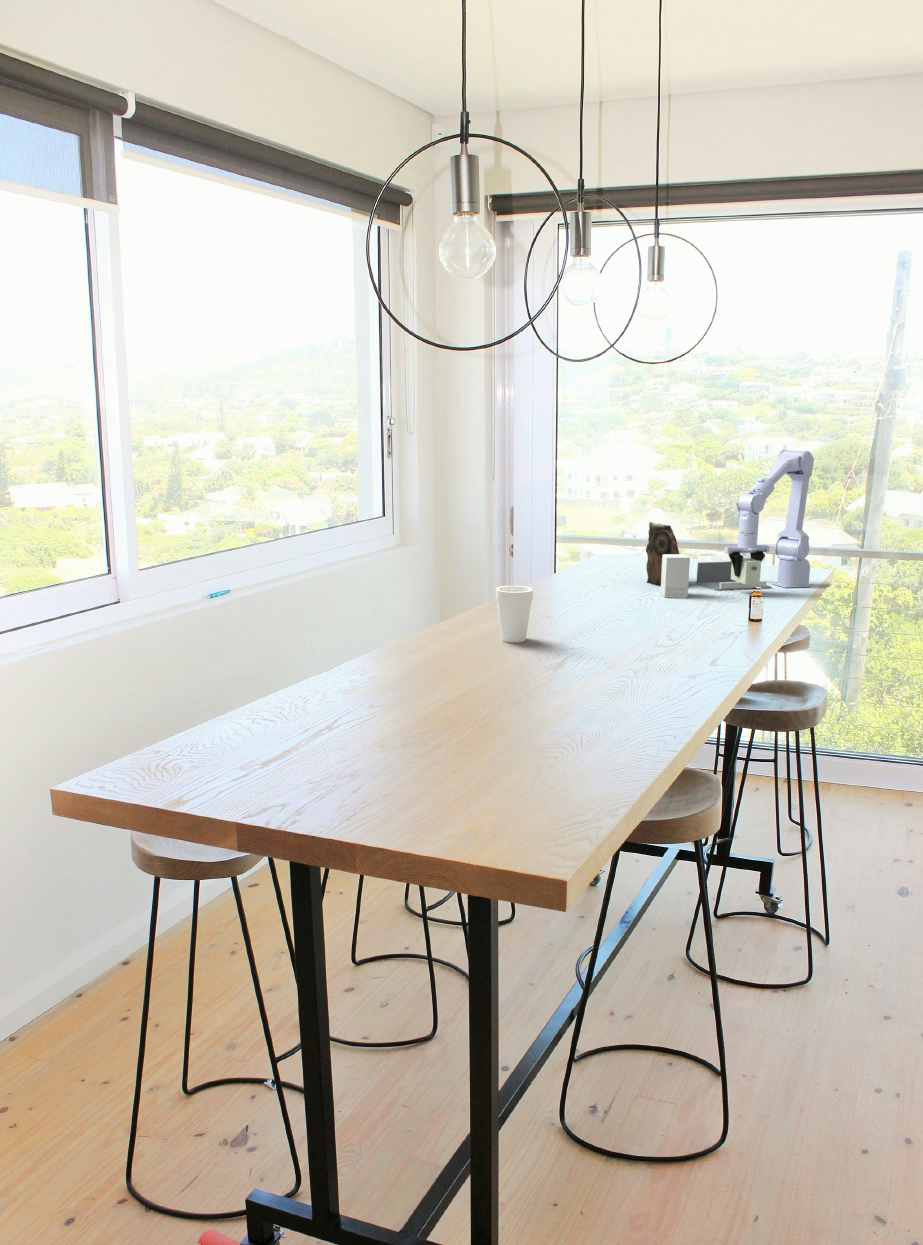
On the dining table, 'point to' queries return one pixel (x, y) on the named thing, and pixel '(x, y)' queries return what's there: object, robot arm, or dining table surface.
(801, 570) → the robot arm
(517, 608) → the foam cup
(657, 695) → the dining table surface
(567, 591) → the dining table surface
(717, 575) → the grey piece
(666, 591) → the supplement box
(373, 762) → the dining table surface
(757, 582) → the cabinet block
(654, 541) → the owl
